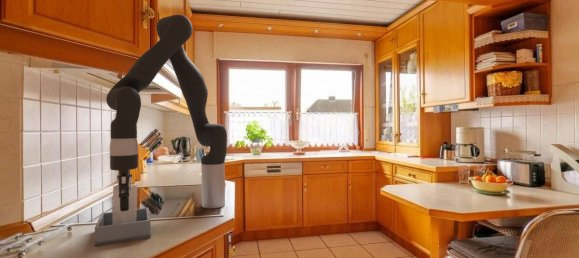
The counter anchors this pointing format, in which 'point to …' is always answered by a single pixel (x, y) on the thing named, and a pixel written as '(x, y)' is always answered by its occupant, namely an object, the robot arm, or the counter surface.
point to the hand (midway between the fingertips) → (125, 207)
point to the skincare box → (131, 214)
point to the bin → (122, 228)
